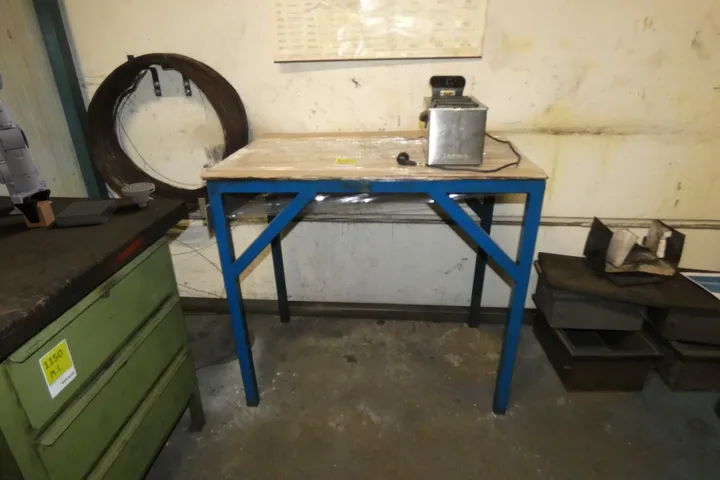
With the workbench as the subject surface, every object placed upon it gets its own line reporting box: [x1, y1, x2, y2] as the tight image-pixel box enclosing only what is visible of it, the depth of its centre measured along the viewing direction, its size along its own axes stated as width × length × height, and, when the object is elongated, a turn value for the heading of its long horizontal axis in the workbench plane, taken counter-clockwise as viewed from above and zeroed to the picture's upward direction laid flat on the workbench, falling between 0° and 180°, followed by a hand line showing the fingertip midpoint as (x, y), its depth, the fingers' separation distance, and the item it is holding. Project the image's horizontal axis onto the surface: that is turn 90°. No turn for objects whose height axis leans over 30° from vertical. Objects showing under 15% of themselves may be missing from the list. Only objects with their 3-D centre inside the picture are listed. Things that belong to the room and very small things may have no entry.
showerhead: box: [120, 181, 156, 208], centre depth 133 cm, size 9×7×10 cm
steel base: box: [54, 199, 118, 228], centre depth 125 cm, size 12×12×3 cm
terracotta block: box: [22, 200, 56, 228], centre depth 121 cm, size 5×5×6 cm
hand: (40, 218), depth 122 cm, fingers open, 5 cm apart
